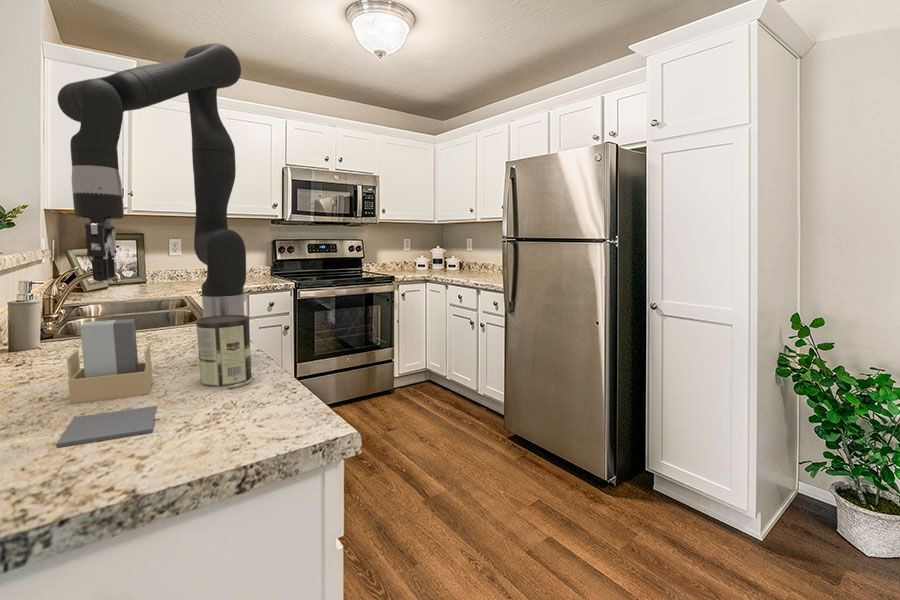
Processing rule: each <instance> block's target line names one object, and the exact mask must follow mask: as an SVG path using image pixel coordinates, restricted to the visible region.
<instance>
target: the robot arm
mask: <svg viewBox="0 0 900 600" xmlns="http://www.w3.org/2000/svg"><path fill="white" fill-rule="evenodd" d="M241 74H242V66H241V62H240V59H239V57H238V56H237V54H236V53H235V52H234V51H233V49H231V48H230V47H228V46H226V44H223V43H215V42H213V43H207V44H204V45H203V44H202V45H199V46H195V47H192V48H189V49H188V50H187V51H186V53H185V55H184V57H183V58H181V59H176V60H171V61H166V62H159V63H153V64H152V63H151V64H147V65H146V64H145V65H142V66H136V67H133V68H129V69H124V70H121V71H117V72H115V73H112V74H110V75H107V76H102V77H97V78H89V79H84V80H79V81H74V82H69V83H67V84H65V85H64V86H62V87H61V88H60V90H59V92H58V94H57V104H58V106H59V108H60V110H61V112H62V113H63V114H64V115H65V116H66V117H68V118H69V119H71V120H73V121H75V122H78V123H80V128H79V131H77V132H76V133H75V134H74V135H73V136H72V137H71V139H70V145H69V146H70V157H71V190H72V200H73V214H74V217H76V218H78V219H89V222H85V224H84V229H85V236H86V237H85V238H86V251H87V252H86V255H87V257H88V258H89V260H90V261H91V268H92V270H91V271H92V279H93V281H95V282H102V281H103V282H104V281H108V280H109V278H110V279H112V278H115V277H116V267H115V266H116V265H115V264H116V263H115V259H116V256H117V253H118V252H117V242H116V230H115V229H116V228H115V226H114V225H112V224H111V221H112V220H123V219H124V217H125V214H124V213H125V212H124V201H123V199H124V198H123V188H122V180H121V175H120V170H119V169H120V168H119V167H120V166H119V155H118V154H119V153H118V145H119V140H120V135H121V131H122V124H123V119H124V112H128V111H129V112H130V111H136V110H141V109H144V108H148V107H151V106H154V105H156V104H160V103H162V102H165V101H168V100H170V99H173V98H177V97H179V96H182V95H185V94H187V100H188V106H189V115H190V116H189V118H190V120H189V121H190V130H191V131H190V132H191V155H192V171H193V184H194V186H193V187H194V198H195V199H194V201H195V220H194V221H195V222H194V224H195V225H194V235H193V236H194V237H193V249H194V252H195V255H196V257H197V259H198V260H199V261H200V262H201V263H202V264H204V265H206V267H207V268H206V269H207V270H206V272H207V275H206V276H207V277H206V278H205V281H204V282H203V283H202V285H201V300H202V301H201V302H202V318H204V317H211V316H220V315H244V316H245V301H244V300H245V299H244V297H245V296H244V288H245V285H246V282H247V281H246V280H247V252H246V245H245V242H244V239H243V238H242V236H241V235H240V234H239V233H238V232H236V231H234V230H232V229H229V227H228V206H229V202H230V201H229V200H230V197H231V194H232V191H233V188H234V184H235V180H236V173H237V172H236V166H237V165H236V152H235V145H234V143H233V140H232V138H231V136H230V134H229V132H228V131H227V129H226V127H225V125H224V124H223V121H222V119H221V117H220V114H219V110H218V96H217V95H218V90H219V89H224V88H229V87H232V86H233V85H235V84H236V83H238V82H239V80H240V78H241Z"/></svg>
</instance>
